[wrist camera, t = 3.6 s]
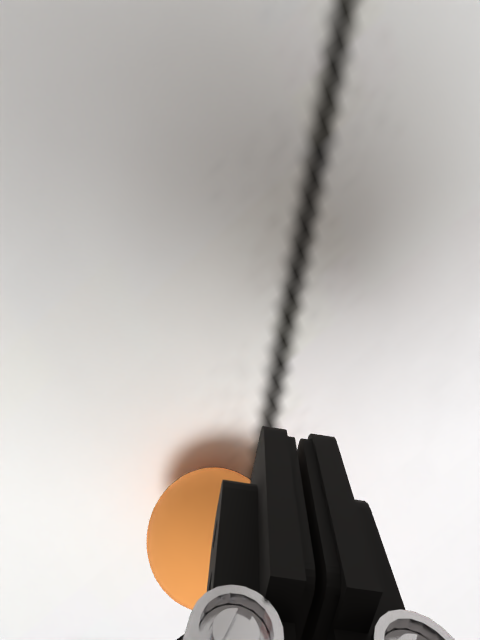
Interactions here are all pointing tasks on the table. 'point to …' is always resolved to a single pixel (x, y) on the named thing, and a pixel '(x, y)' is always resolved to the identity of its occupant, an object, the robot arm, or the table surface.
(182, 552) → the ball
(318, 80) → the table surface
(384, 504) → the table surface
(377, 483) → the table surface
